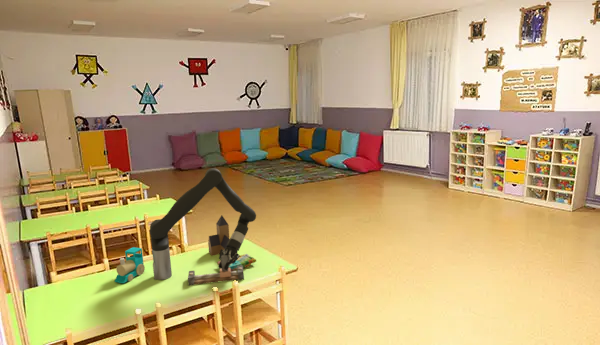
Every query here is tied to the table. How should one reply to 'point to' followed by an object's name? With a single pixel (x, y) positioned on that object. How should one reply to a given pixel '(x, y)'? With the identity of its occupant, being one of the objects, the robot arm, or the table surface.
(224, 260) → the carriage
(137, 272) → the toy train
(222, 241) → the toy building blocks
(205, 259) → the table surface
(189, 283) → the rail bed
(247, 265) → the puzzle game
